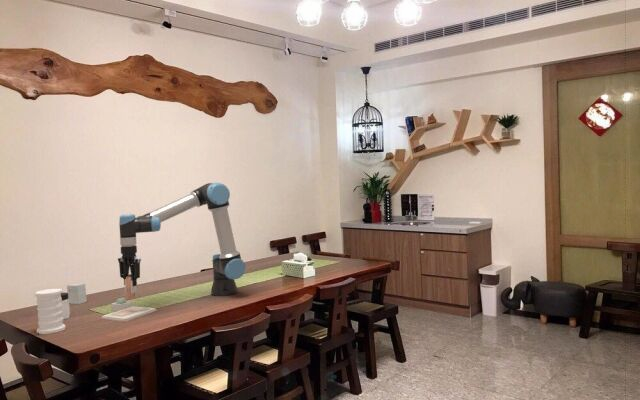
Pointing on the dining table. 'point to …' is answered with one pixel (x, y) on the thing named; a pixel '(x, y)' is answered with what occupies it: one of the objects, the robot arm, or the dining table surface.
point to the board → (128, 313)
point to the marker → (129, 288)
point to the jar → (65, 305)
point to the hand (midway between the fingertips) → (130, 292)
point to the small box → (76, 293)
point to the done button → (121, 300)
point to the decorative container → (49, 311)
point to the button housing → (120, 306)
